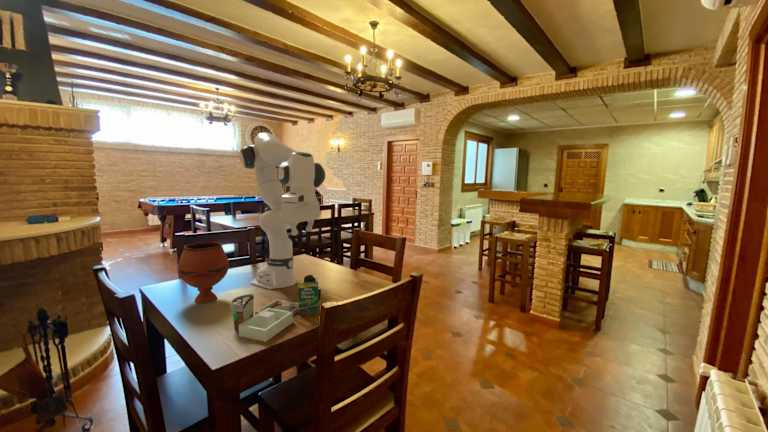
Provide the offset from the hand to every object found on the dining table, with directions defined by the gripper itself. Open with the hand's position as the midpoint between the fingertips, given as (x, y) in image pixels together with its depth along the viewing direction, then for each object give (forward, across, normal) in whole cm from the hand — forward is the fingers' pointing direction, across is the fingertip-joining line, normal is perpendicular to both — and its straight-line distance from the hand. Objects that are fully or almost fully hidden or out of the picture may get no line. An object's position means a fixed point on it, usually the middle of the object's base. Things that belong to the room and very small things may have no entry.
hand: (302, 233), depth 117 cm
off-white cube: (+34, +11, -8) cm, 36 cm away
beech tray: (+34, -4, -13) cm, 37 cm away
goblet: (+35, -1, -50) cm, 61 cm away
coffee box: (+34, -6, -1) cm, 35 cm away
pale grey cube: (+34, -4, -10) cm, 36 cm away
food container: (+35, +12, -18) cm, 41 cm away
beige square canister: (+35, -17, -6) cm, 39 cm away
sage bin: (+34, +11, -8) cm, 37 cm away
